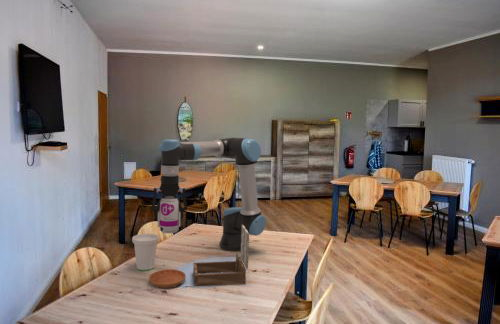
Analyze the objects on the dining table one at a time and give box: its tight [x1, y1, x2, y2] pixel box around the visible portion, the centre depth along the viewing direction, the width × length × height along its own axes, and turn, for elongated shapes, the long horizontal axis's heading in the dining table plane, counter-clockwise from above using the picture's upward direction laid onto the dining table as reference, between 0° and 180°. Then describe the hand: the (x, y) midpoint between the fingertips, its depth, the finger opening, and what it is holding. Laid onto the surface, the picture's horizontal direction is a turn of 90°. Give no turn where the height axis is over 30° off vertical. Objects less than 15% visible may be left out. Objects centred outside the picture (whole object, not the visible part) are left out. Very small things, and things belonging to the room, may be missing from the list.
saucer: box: [148, 268, 187, 289], centre depth 167 cm, size 16×16×3 cm
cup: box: [131, 233, 160, 272], centre depth 182 cm, size 12×12×15 cm
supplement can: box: [158, 196, 180, 234], centre depth 164 cm, size 8×8×15 cm
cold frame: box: [192, 225, 250, 287], centre depth 172 cm, size 15×23×23 cm, turn 101°
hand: (169, 226), depth 165 cm, fingers closed on supplement can, 8 cm apart
